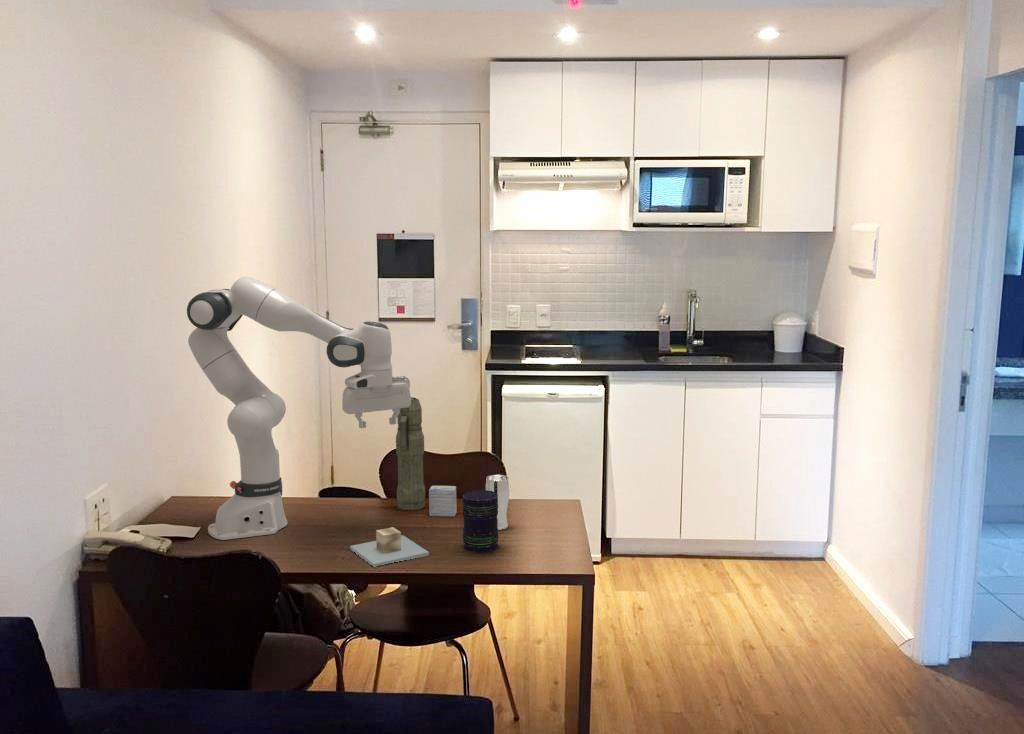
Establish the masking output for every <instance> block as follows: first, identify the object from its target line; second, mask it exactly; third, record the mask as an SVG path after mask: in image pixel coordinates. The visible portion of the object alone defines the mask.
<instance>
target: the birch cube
mask: <svg viewBox="0 0 1024 734" xmlns="http://www.w3.org/2000/svg"><path fill="white" fill-rule="evenodd" d="M401 536H402V532H401V531H400V530H398V529H397V528H396V527H393V526H391V527H388V528H386V527H385V528H382V529H376V530H375V537H376V538H375V539H376V540H375V541H376V544H377V549H379V550H380V551H381V552H383V553H389V552H394V551H399V550H401Z"/></svg>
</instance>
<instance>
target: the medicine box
mask: <svg viewBox="0 0 1024 734" xmlns="http://www.w3.org/2000/svg"><path fill="white" fill-rule="evenodd" d="M428 505H429V507H428V508H429V515H430V516H429V515H428V516H429V517H456V514H457V510H458V508H457V486H455V485H431V486H430V487H429V489H428Z"/></svg>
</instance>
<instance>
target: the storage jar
mask: <svg viewBox="0 0 1024 734" xmlns="http://www.w3.org/2000/svg"><path fill="white" fill-rule="evenodd" d="M497 498H498V494H497V493H496V492H493V491H488V490H486V489H476V490H475V489H474V490H470V491H469V490H468V491H466V492H464V493H463V494H462V516H463V528H462V541H463V542H462V543H463V545H462V549H463V550H464V551H466V552H468V553H472V554H488V553H492V552H496V551H497V549H498V548H499V545H498V542H499V530H498V528H497V515H498V499H497Z"/></svg>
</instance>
